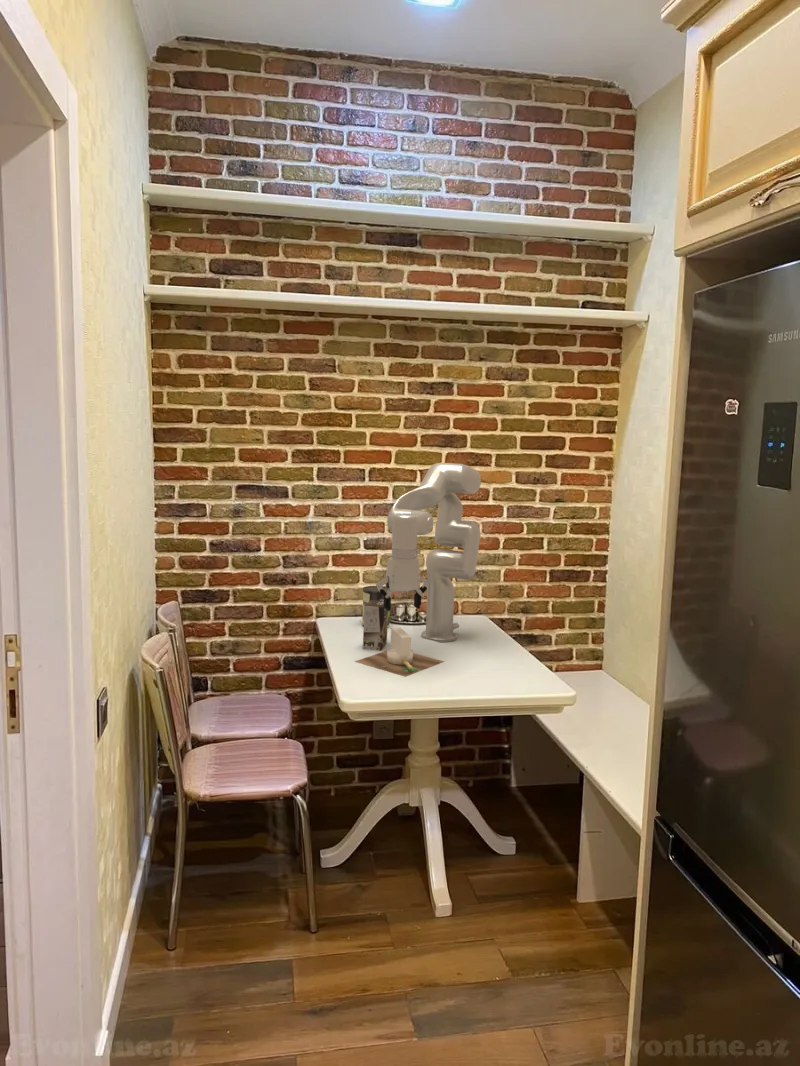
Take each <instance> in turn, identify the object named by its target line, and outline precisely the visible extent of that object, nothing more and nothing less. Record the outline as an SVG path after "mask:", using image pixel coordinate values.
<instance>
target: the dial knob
mask: <svg viewBox="0 0 800 1066" xmlns="http://www.w3.org/2000/svg"><path fill="white" fill-rule="evenodd" d="M411 645H412V636H411V635H410V634H408V632H406V631H405V630H404V629H403V628H402V627H391V628H390V648H388V649H387V650H386V651H387V661H388V662H389V663H392V664H398V665H406V666H407V667H408V668H409V669H413V667H412V666H411V665H410V663H412V662H413V653H414V651H413V649H411V647H412V646H411Z"/></svg>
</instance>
